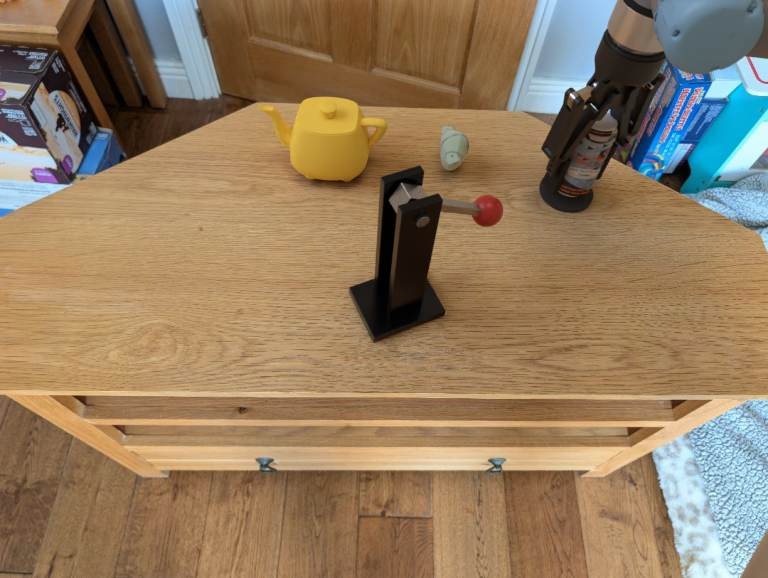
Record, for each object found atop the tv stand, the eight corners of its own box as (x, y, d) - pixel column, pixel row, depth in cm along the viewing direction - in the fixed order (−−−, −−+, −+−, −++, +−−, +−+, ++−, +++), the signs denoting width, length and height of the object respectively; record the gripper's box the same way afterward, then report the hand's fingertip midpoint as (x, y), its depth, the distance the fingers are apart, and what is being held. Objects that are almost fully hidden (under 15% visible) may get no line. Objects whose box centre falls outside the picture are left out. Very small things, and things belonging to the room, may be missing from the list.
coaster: (602, 203, 83) (604, 201, 83) (558, 219, 81) (559, 216, 81) (572, 167, 87) (573, 164, 87) (529, 181, 85) (530, 178, 85)
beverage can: (546, 198, 81) (573, 135, 71) (549, 163, 85) (575, 98, 75) (589, 207, 81) (623, 144, 71) (590, 171, 85) (622, 107, 75)
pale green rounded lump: (434, 149, 88) (439, 115, 82) (459, 149, 88) (467, 115, 82) (439, 187, 84) (446, 154, 78) (466, 187, 84) (475, 153, 78)
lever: (479, 212, 66) (498, 190, 64) (495, 234, 65) (515, 212, 62) (382, 199, 56) (401, 172, 54) (397, 225, 55) (417, 198, 53)
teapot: (261, 185, 82) (250, 129, 73) (272, 134, 88) (263, 75, 79) (383, 192, 82) (387, 137, 73) (386, 140, 88) (390, 83, 79)
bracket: (417, 268, 75) (438, 147, 57) (444, 315, 72) (476, 202, 53) (348, 292, 73) (347, 173, 54) (373, 342, 69) (381, 233, 51)
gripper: (585, 77, 58) (527, 218, 78) (728, 37, 64) (640, 179, 83) (546, 36, 62) (500, 181, 81) (684, 2, 67) (610, 146, 86)
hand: (571, 180), depth 82 cm, fingers closed on beverage can, 7 cm apart
